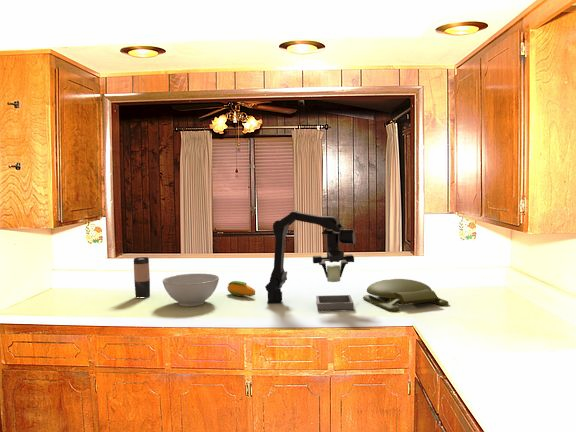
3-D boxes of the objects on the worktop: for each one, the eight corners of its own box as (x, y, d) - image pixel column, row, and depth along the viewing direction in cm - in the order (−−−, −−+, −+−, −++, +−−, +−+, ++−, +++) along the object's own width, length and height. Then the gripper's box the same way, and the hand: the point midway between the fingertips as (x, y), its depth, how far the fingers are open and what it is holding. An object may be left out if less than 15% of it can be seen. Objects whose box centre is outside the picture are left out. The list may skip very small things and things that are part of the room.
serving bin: (317, 311, 257) (317, 303, 257) (316, 303, 273) (316, 295, 273) (353, 310, 257) (353, 302, 257) (350, 302, 273) (350, 295, 273)
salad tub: (327, 282, 263) (327, 267, 263) (326, 279, 269) (326, 264, 269) (340, 281, 263) (340, 266, 263) (339, 279, 269) (339, 264, 269)
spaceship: (451, 306, 262) (451, 285, 262) (391, 313, 252) (390, 291, 251) (410, 291, 295) (410, 272, 294) (355, 297, 285) (355, 277, 284)
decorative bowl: (209, 294, 297) (208, 271, 296) (227, 305, 273) (226, 280, 272) (157, 301, 285) (156, 277, 284) (172, 312, 261) (170, 286, 260)
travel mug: (153, 296, 297) (152, 257, 295) (142, 299, 290) (141, 259, 289) (142, 294, 301) (141, 256, 299) (131, 297, 294) (130, 258, 292)
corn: (234, 277, 301) (260, 282, 287) (235, 291, 302) (261, 297, 288) (223, 280, 296) (249, 285, 282) (224, 295, 297) (250, 300, 283)
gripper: (313, 246, 257) (314, 281, 258) (355, 245, 257) (356, 280, 258) (312, 243, 268) (313, 276, 269) (352, 242, 268) (353, 275, 269)
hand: (333, 277), depth 266 cm, fingers closed on salad tub, 6 cm apart
